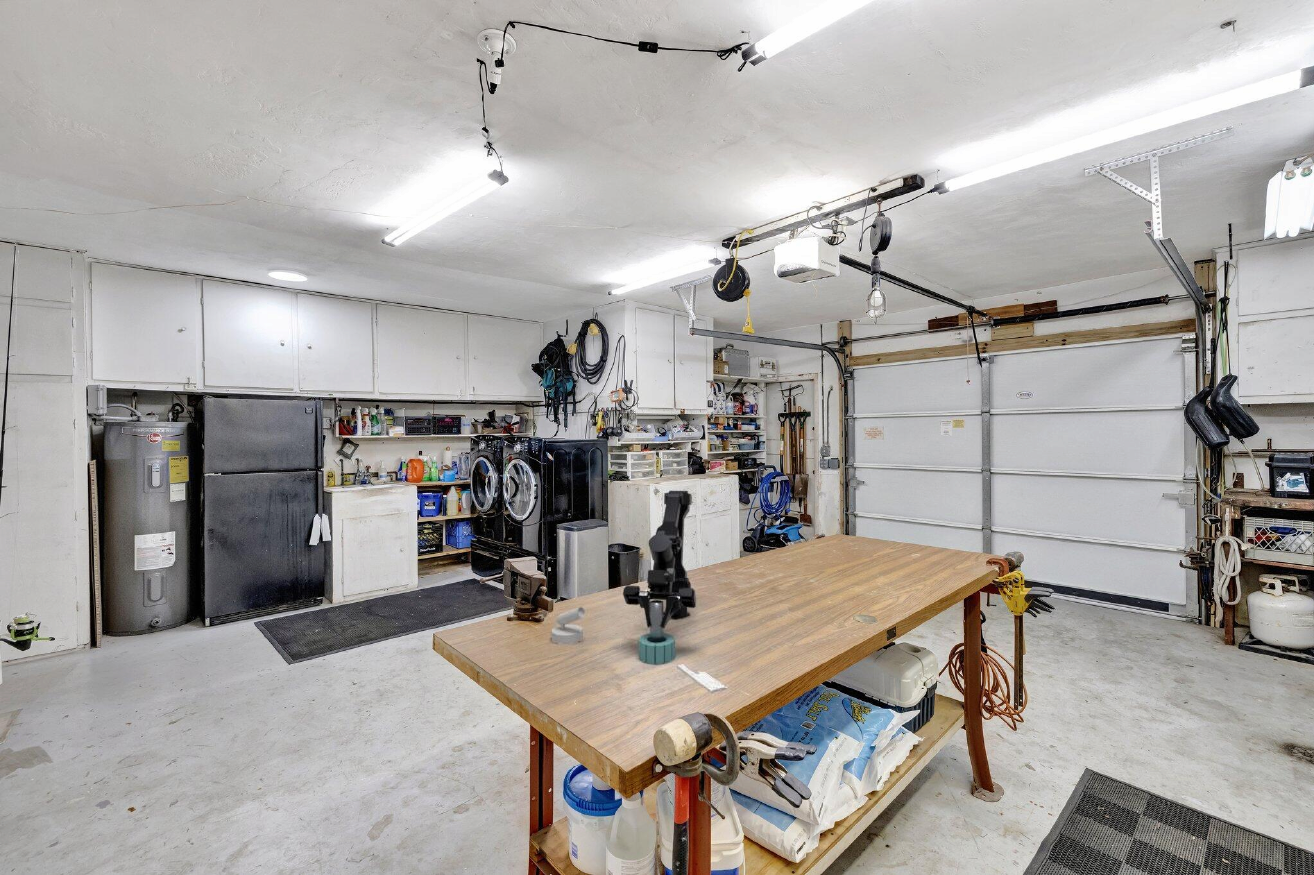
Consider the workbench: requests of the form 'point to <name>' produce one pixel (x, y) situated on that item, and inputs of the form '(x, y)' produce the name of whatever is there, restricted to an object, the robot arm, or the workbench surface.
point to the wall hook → (568, 627)
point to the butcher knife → (703, 679)
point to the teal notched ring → (656, 650)
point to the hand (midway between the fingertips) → (655, 627)
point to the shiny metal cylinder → (656, 621)
